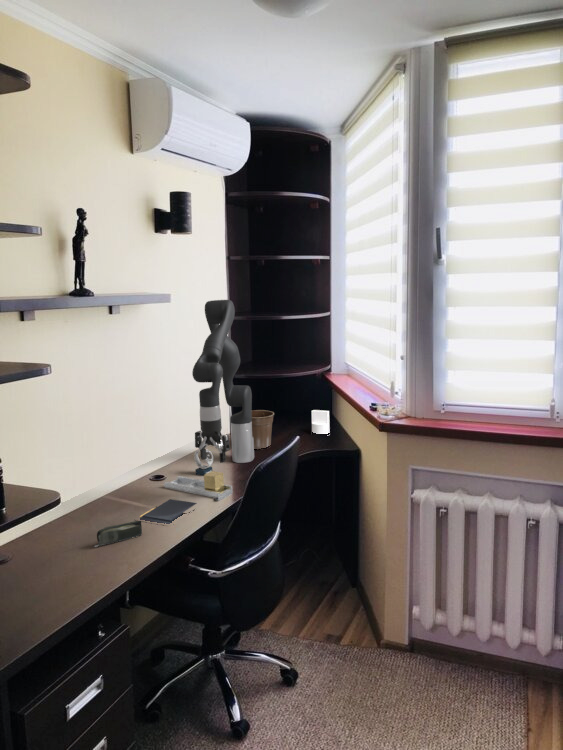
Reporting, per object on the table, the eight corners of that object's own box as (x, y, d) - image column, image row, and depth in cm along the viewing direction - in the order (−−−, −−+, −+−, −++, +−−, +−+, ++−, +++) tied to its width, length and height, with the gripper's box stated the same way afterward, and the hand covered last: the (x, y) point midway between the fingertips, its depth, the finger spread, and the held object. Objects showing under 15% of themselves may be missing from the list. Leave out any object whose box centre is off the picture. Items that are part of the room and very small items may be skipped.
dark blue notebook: (169, 523, 185) (132, 516, 192) (169, 528, 186) (132, 521, 192) (204, 501, 203) (168, 495, 210) (204, 506, 203) (169, 500, 210)
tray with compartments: (179, 483, 227) (178, 475, 226) (232, 493, 213) (232, 485, 213) (164, 489, 220) (163, 482, 219) (218, 501, 206) (217, 493, 206)
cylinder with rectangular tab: (309, 435, 292) (308, 412, 290) (315, 431, 300) (314, 408, 298) (326, 436, 288) (325, 413, 286) (332, 432, 296) (331, 409, 294)
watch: (208, 478, 231) (207, 452, 229) (192, 476, 235) (190, 450, 233) (216, 474, 236) (215, 448, 234) (200, 472, 239) (199, 446, 238)
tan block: (213, 489, 215) (212, 471, 214) (224, 491, 213) (223, 472, 212) (204, 493, 211) (203, 474, 210) (215, 495, 209) (214, 476, 208)
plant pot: (281, 443, 278) (280, 411, 276) (265, 452, 264) (263, 418, 262) (252, 440, 286) (250, 408, 283) (234, 449, 272) (233, 415, 269)
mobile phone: (139, 518, 181) (91, 529, 173) (142, 521, 179) (94, 533, 170) (139, 533, 182) (92, 545, 174) (143, 536, 180) (95, 549, 171)
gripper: (232, 417, 207) (235, 460, 210) (201, 413, 215) (204, 455, 217) (219, 421, 201) (222, 466, 204) (188, 418, 208) (191, 461, 211)
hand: (213, 460), depth 210 cm, fingers open, 8 cm apart
